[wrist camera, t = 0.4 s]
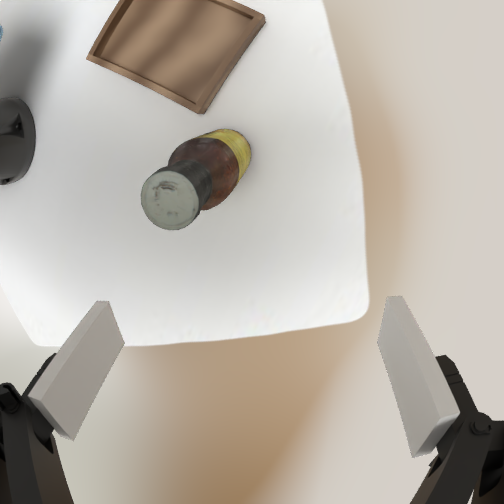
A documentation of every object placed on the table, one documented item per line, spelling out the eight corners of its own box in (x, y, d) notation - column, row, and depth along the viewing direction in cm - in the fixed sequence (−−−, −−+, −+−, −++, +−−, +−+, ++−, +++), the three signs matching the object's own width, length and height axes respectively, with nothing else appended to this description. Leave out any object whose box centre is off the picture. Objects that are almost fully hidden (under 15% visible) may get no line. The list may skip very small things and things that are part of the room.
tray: (97, 61, 31) (85, 59, 29) (149, -22, 26) (140, -30, 23) (204, 113, 34) (197, 113, 31) (265, 22, 28) (264, 14, 26)
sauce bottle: (220, 118, 34) (157, 122, 16) (262, 148, 35) (242, 181, 17) (191, 161, 37) (111, 208, 19) (231, 189, 38) (185, 260, 20)
